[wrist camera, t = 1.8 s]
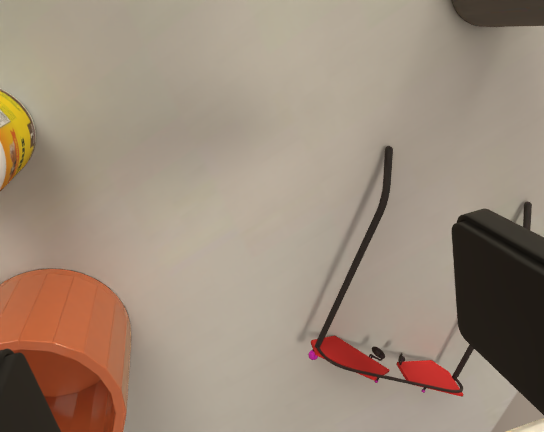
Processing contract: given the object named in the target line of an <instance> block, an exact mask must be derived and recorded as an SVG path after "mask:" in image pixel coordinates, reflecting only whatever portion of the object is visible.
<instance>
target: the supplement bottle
mask: <svg viewBox="0 0 544 432" xmlns="http://www.w3.org/2000/svg"><path fill="white" fill-rule="evenodd" d="M35 143H36V132H35V126H34V123H33V120H32V118H31V116H30V114H29V112H28V111H27V110H26V108H25V107H24V106H23V105H22V104H21V102H20V101H19V100H17V99H16V98H15V97H14V96H12V95H11V94H9V93H8V92H6V91H4V90H2V89H0V191H1V190H2V189H3V188H4V187H5V186H6V185H7V184H8V183H9V182H10V181H11V180H12V179H13V178H14V176H15V175H16V174H17V173H18V172H19V171H20V170H21V169H22V168H23V167H24V166H25V165H26V164H27V162H28V161H29V159H30V158H31V156H32V154H33V151H34V148H35Z"/></svg>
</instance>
